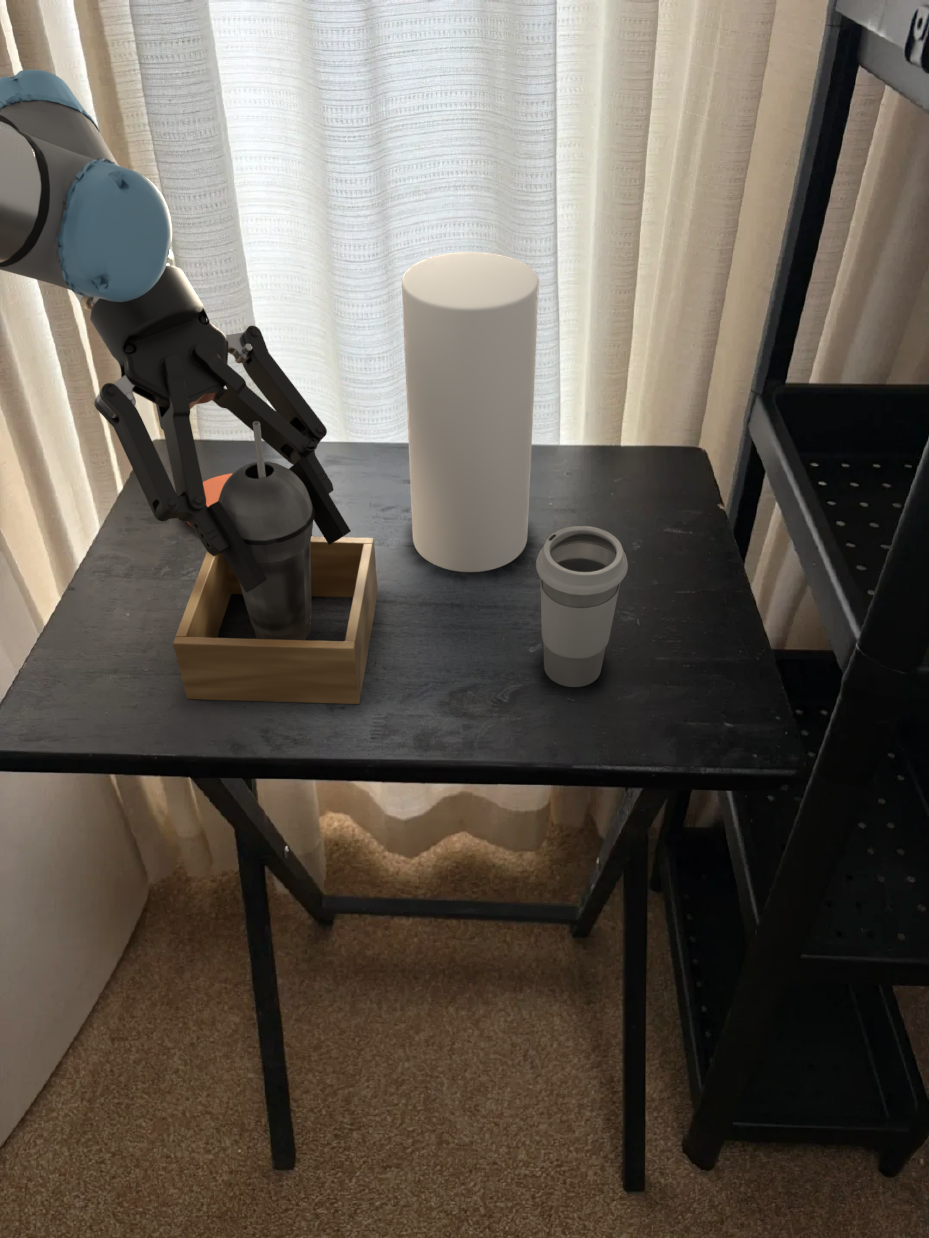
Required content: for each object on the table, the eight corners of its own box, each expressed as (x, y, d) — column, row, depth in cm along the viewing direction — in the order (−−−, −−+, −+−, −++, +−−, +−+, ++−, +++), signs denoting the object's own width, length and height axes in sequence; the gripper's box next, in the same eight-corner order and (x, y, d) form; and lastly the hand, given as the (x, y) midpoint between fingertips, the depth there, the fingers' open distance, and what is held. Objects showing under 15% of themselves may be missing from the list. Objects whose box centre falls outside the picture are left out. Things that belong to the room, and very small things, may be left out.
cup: (560, 627, 88) (569, 511, 80) (629, 658, 85) (646, 541, 77) (513, 675, 84) (518, 558, 76) (585, 710, 81) (598, 592, 73)
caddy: (359, 704, 82) (353, 648, 78) (186, 699, 82) (172, 643, 78) (377, 592, 92) (373, 537, 88) (224, 588, 92) (213, 533, 88)
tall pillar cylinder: (402, 566, 94) (388, 303, 78) (424, 498, 102) (415, 247, 86) (519, 577, 93) (531, 313, 77) (533, 508, 101) (545, 255, 84)
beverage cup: (310, 592, 89) (284, 381, 76) (340, 643, 84) (318, 427, 71) (227, 616, 87) (185, 402, 74) (253, 671, 82) (214, 453, 69)
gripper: (229, 273, 84) (376, 518, 87) (-5, 358, 73) (171, 637, 76) (262, 224, 78) (420, 490, 80) (11, 309, 67) (203, 615, 69)
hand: (299, 561), depth 78 cm, fingers closed on beverage cup, 7 cm apart
